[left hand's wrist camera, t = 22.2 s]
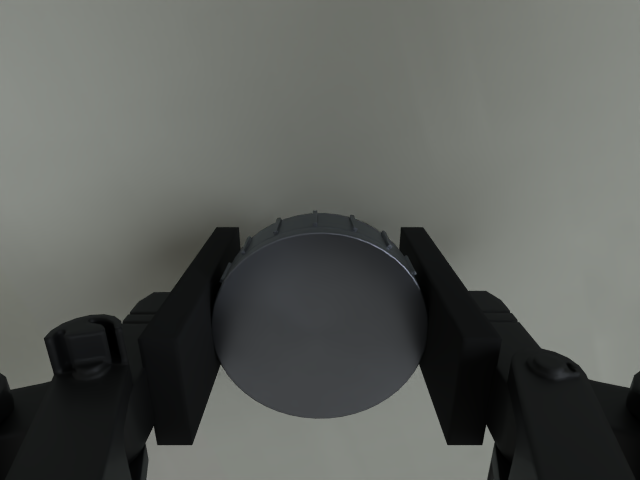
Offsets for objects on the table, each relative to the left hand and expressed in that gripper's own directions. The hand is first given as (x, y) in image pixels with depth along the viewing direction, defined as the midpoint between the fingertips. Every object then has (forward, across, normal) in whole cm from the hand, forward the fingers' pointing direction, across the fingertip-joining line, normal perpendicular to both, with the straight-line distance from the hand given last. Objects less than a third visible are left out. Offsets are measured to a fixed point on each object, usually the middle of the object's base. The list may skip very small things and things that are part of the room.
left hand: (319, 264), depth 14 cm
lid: (-4, 0, 0) cm, 4 cm away
